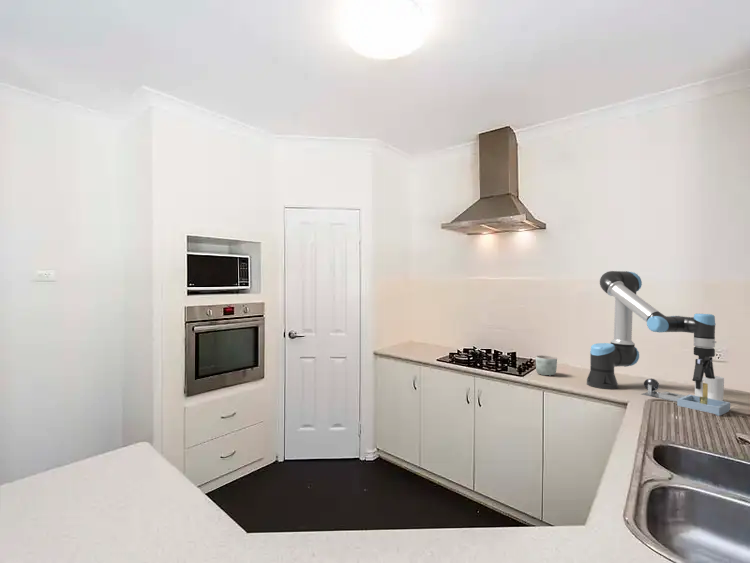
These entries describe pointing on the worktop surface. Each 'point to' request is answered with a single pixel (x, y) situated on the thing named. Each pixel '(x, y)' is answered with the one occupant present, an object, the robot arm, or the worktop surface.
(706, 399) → the pin
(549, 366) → the planter
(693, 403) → the tray
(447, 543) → the worktop surface
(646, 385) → the tensioner
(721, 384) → the mug
